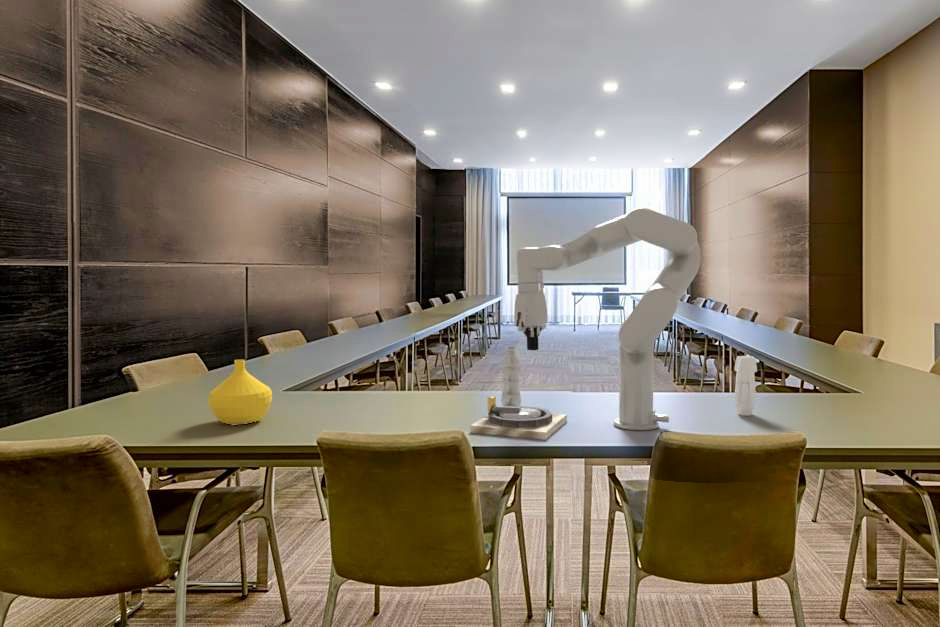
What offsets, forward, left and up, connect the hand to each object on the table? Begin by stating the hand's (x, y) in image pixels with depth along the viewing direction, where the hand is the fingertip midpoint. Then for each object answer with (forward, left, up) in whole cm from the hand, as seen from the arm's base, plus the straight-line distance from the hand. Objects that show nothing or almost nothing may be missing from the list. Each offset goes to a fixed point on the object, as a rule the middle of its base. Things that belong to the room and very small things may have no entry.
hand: (532, 349), depth 189 cm
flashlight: (-59, -30, -22) cm, 70 cm away
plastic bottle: (+12, -14, -22) cm, 29 cm away
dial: (+3, +9, -19) cm, 21 cm away
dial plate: (+1, +9, -22) cm, 23 cm away
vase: (+83, +33, -22) cm, 92 cm away
